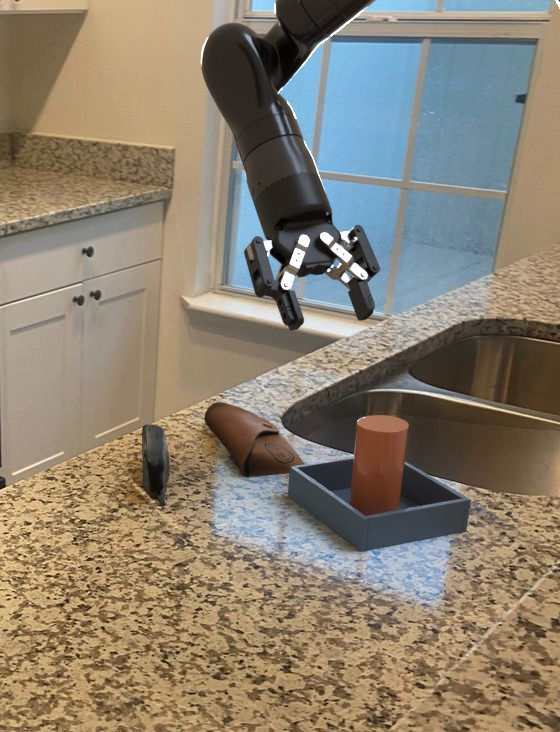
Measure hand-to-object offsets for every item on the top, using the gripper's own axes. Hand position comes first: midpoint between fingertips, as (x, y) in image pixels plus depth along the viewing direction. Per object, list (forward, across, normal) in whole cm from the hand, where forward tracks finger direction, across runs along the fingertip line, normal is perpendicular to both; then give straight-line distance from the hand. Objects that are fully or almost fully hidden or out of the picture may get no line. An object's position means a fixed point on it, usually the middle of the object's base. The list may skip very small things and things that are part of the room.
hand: (332, 322), depth 109 cm
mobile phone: (+9, -17, +18) cm, 26 cm away
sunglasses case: (+7, -2, +20) cm, 22 cm away
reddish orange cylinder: (+20, 0, +4) cm, 21 cm away
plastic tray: (+21, 0, +4) cm, 21 cm away
